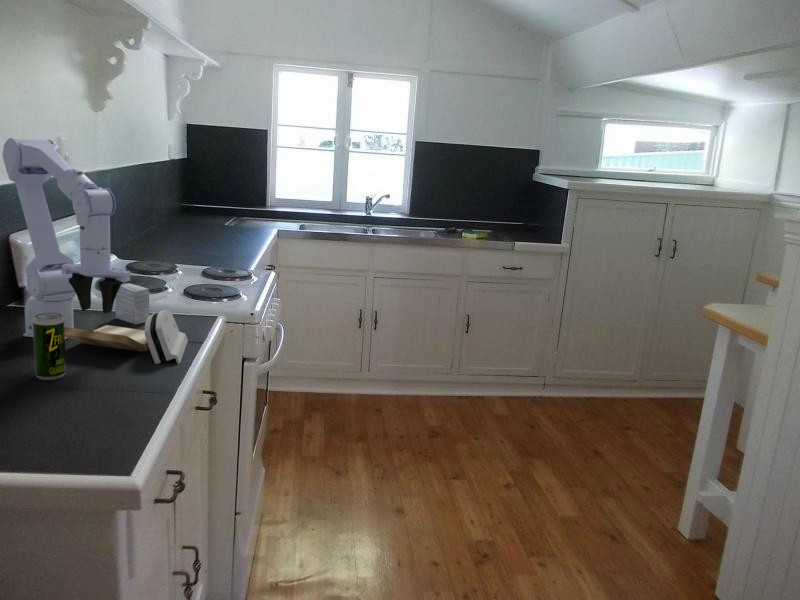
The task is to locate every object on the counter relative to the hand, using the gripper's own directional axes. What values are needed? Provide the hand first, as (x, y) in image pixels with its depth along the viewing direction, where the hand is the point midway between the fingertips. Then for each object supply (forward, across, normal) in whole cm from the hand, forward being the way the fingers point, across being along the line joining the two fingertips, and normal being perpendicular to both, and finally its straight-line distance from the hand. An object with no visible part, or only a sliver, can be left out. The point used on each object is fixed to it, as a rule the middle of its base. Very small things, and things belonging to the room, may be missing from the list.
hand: (96, 310), depth 143 cm
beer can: (+10, 0, -15) cm, 18 cm away
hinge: (+10, +12, +7) cm, 17 cm away
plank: (+7, 0, 0) cm, 7 cm away
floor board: (+9, 0, +10) cm, 13 cm away
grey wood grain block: (+10, -7, +25) cm, 28 cm away
